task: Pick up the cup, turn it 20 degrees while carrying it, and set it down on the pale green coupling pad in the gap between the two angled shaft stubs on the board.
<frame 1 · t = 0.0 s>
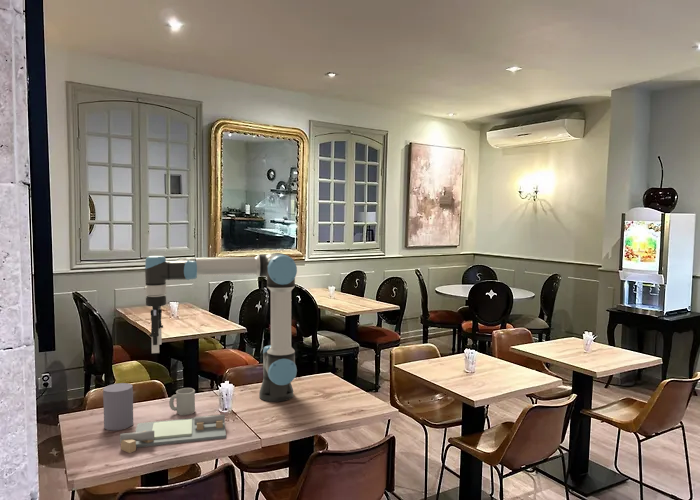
hand: (156, 348, 211), 28 cm above the table, fingers open, 13 cm apart
shaft rig: (172, 432, 199), on the table
container: (118, 426, 205), on the table
cup: (182, 413, 219), on the table
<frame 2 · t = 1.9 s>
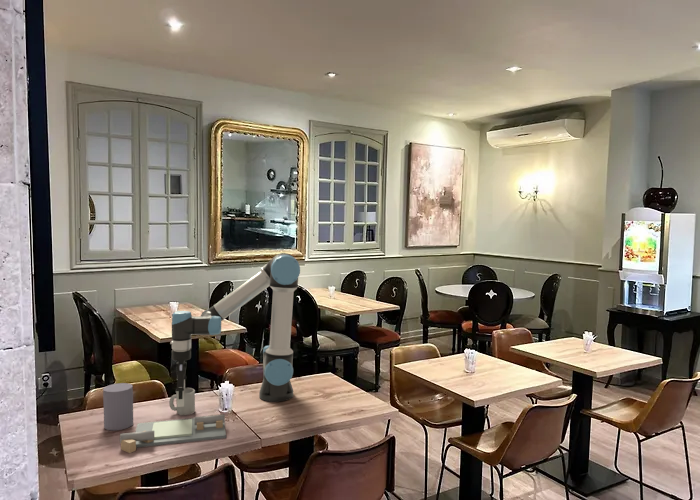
hand: (181, 400, 218), 5 cm above the table, fingers open, 13 cm apart
nothing on the table moved.
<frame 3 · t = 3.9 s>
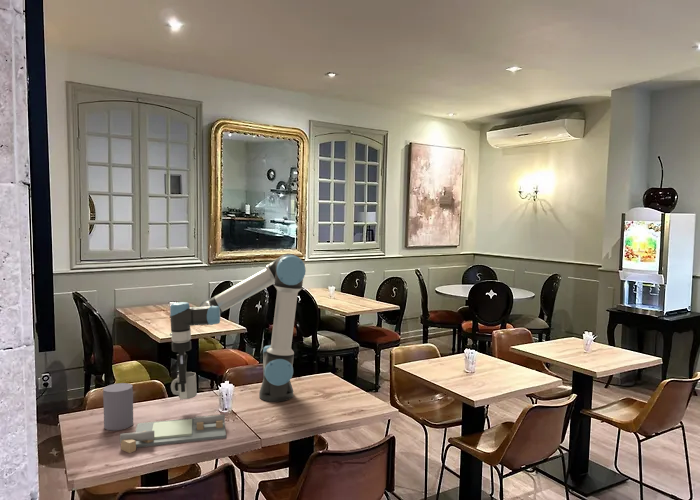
hand: (183, 395, 218), 7 cm above the table, fingers closed on cup, 7 cm apart
cup: (184, 397, 218), point 6 cm above the table, touching gripper
everything else where it was.
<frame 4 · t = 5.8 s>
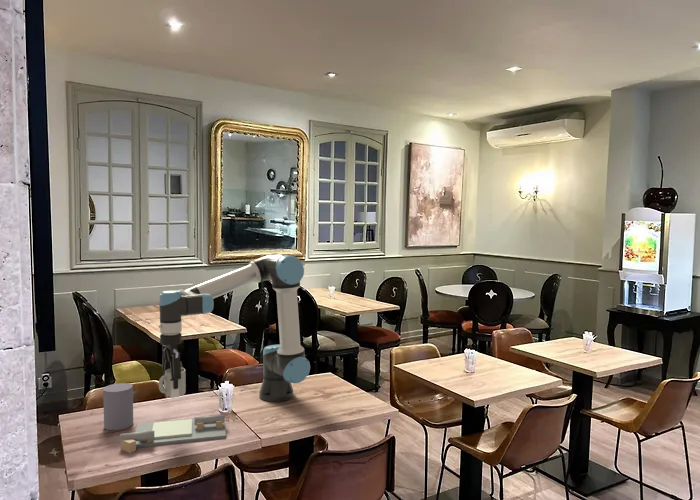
hand: (171, 393, 198), 15 cm above the table, fingers closed on cup, 7 cm apart
cup: (172, 395, 198), point 14 cm above the table, touching gripper
everything else where it was.
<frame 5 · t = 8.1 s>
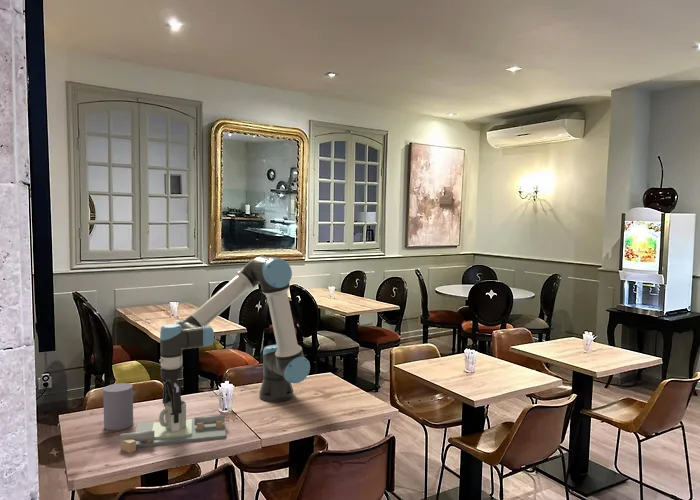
hand: (172, 427, 199), 2 cm above the table, fingers closed on cup, shaft rig, 7 cm apart
cup: (172, 428, 199), point 2 cm above the table, touching gripper, shaft rig
everything else where it was.
when the fingers open (2 cm above the table, at t = 8.6 s): cup stays where it is, resting on shaft rig.
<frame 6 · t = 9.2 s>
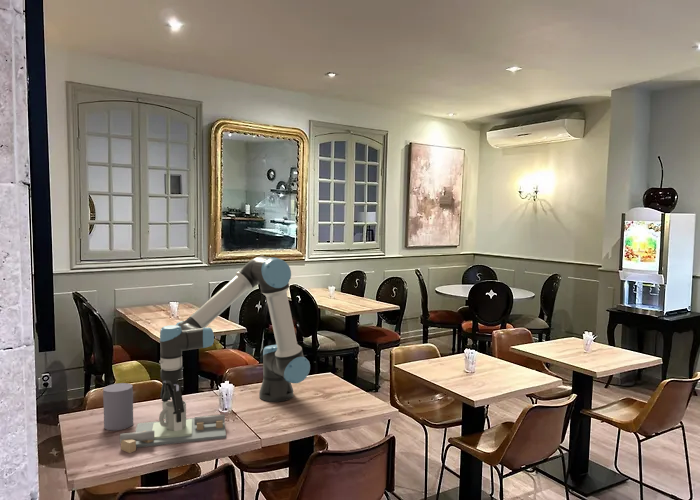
hand: (172, 424, 199), 3 cm above the table, fingers open, 13 cm apart
cup: (172, 428, 199), point 2 cm above the table, touching shaft rig
everything else where it was.
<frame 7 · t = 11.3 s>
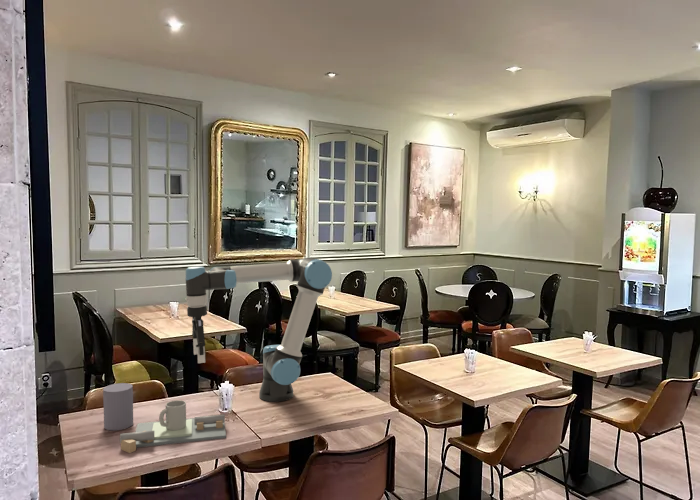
hand: (199, 358, 213), 24 cm above the table, fingers open, 13 cm apart
nothing on the table moved.
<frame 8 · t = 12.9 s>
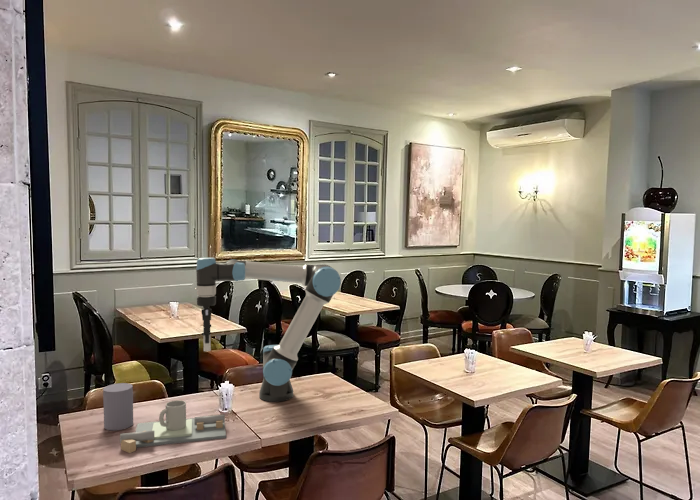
hand: (206, 346, 220), 27 cm above the table, fingers open, 13 cm apart
nothing on the table moved.
at the end: cup inside the target area on the shaft rig (0.1 cm from its centre), point 1.6 cm above the shaft rig's base; cup tilted 0°; the gripper is holding nothing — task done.
